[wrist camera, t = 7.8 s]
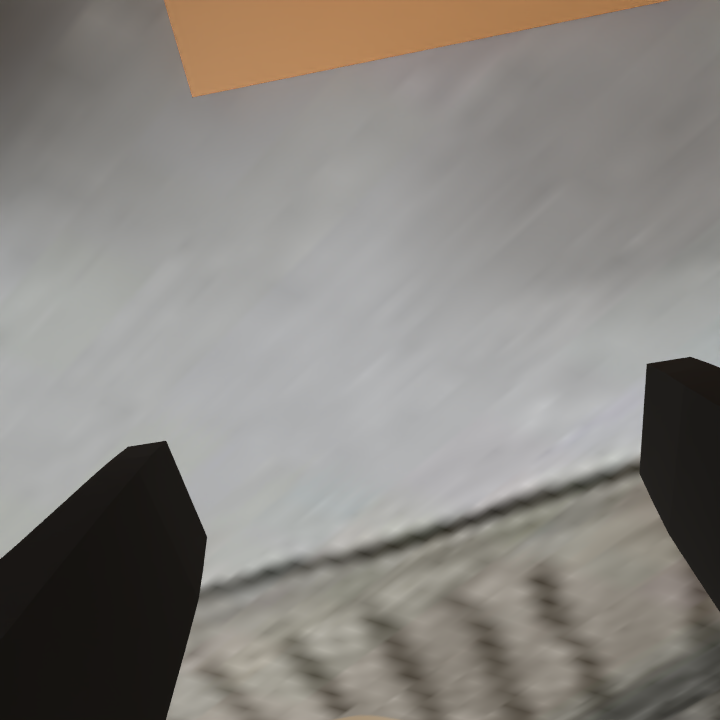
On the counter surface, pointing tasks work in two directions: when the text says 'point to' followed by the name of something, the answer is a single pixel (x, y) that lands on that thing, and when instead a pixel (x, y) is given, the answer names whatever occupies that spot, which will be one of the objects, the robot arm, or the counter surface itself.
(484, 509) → the counter surface
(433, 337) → the counter surface
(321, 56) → the orange stepped square base
